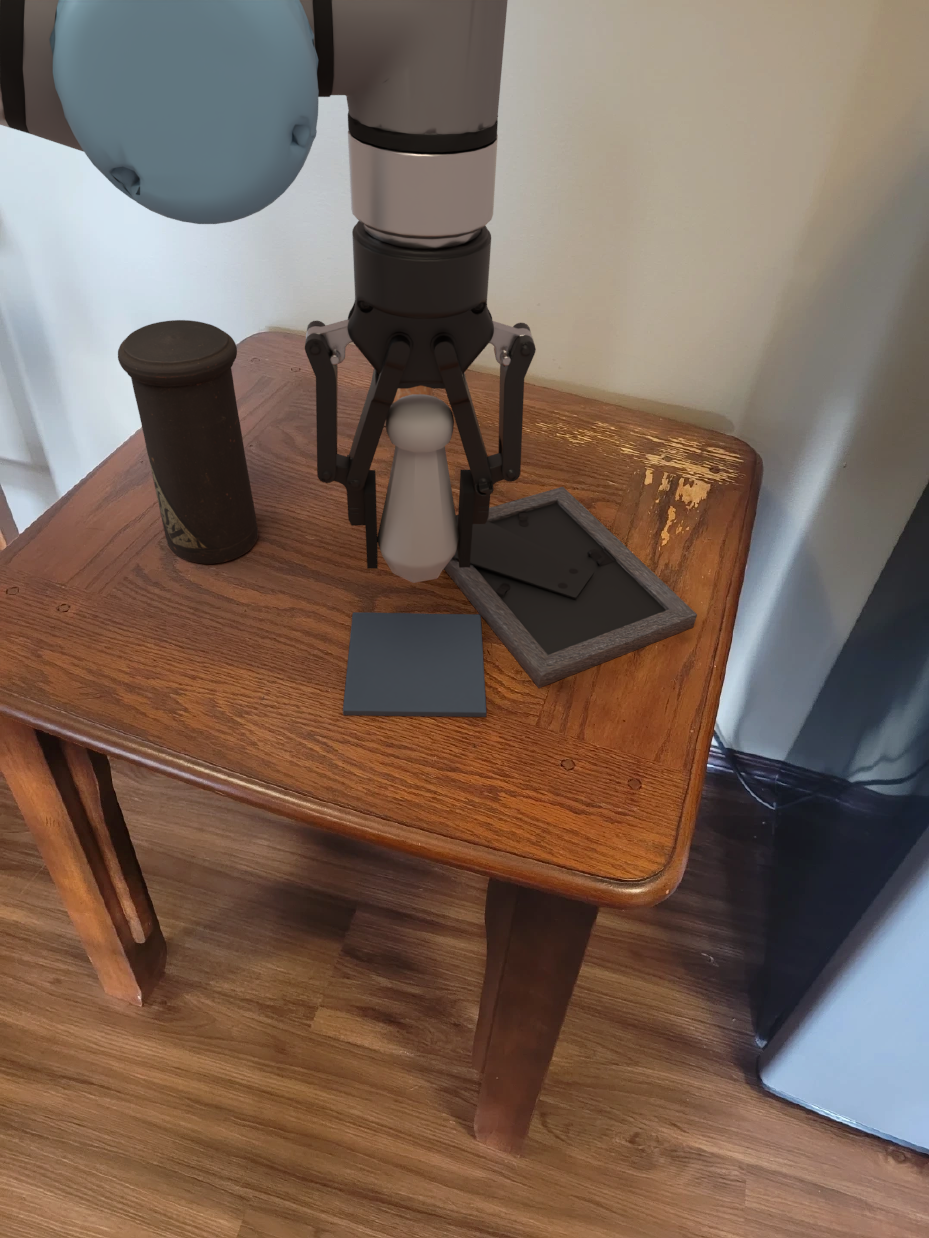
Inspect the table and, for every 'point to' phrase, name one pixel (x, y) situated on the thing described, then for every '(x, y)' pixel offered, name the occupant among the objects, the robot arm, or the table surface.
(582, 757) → the table surface
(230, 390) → the container
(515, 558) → the picture frame
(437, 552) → the salt shaker
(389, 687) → the mat
